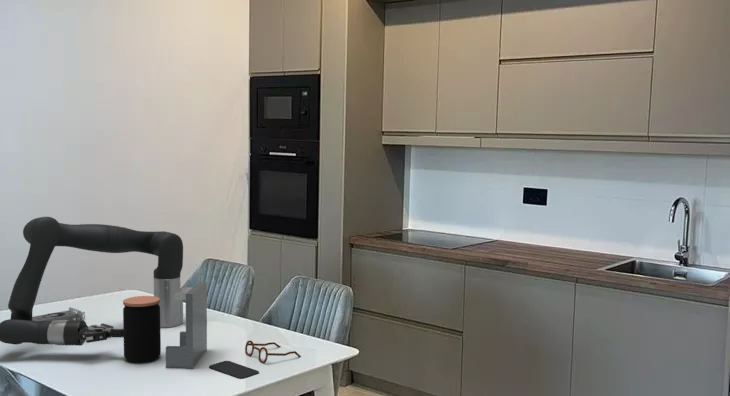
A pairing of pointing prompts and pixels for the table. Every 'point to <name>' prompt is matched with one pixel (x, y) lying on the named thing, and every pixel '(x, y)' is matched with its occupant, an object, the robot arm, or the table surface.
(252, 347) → the glasses
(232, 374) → the phone
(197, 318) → the bracket
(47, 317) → the graphics card
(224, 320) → the table surface
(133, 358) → the coffee jar
